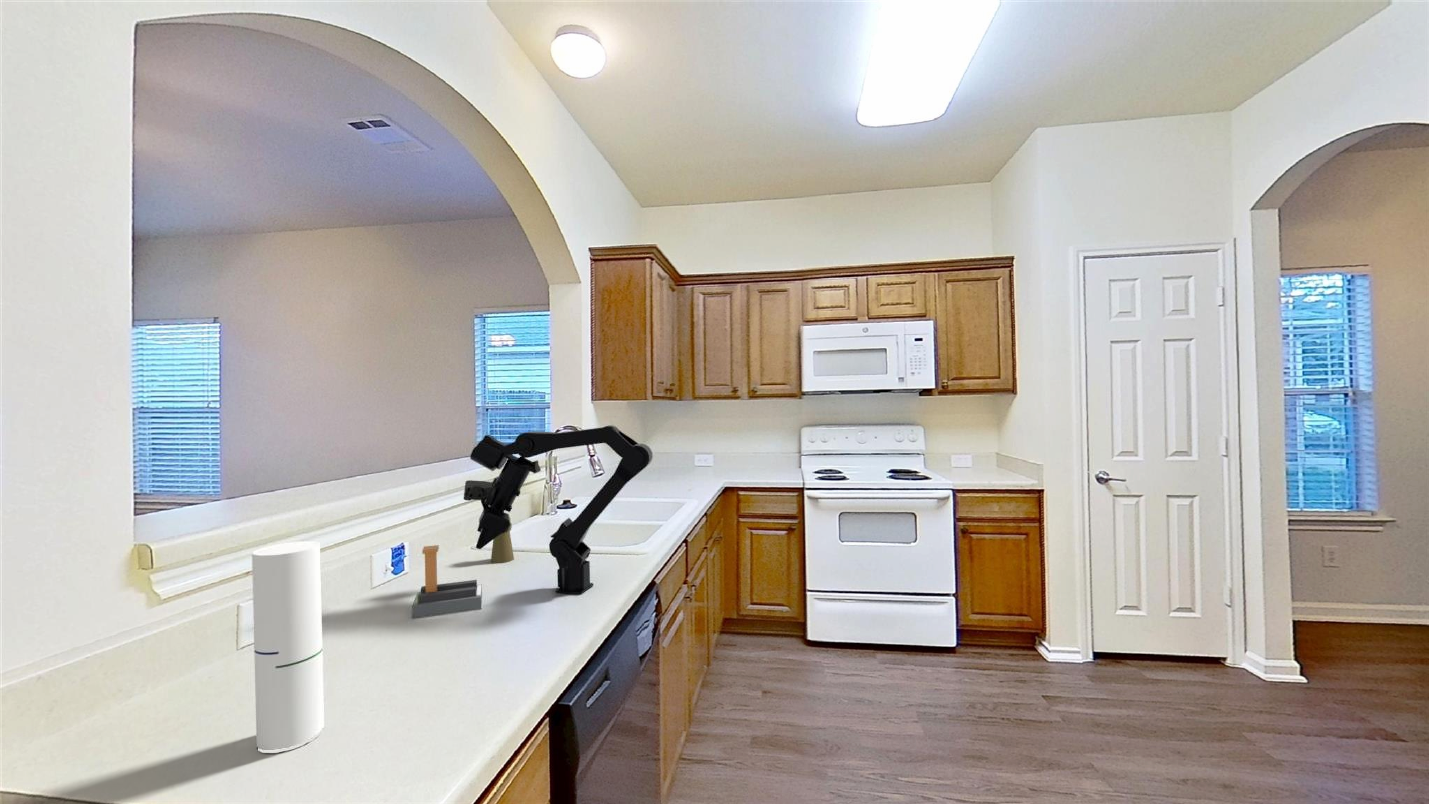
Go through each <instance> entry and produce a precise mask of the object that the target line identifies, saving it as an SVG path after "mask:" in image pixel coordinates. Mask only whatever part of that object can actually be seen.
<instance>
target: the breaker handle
mask: <svg viewBox="0 0 1429 804" xmlns="http://www.w3.org/2000/svg"><path fill="white" fill-rule="evenodd" d="M439 549H440V545H438V544H437V545H435V544H434V545H427V546H425V545H424V546H423V548H422V550H421V551H422V555H424V567H425V568H424V576H425V578H424V579H425V580H424V583H425V585H424V586H425V587H426V593H429V592H437V584H438V563H437V562H438V561H437V560H438V558H437V556H438V555H437V553H438V552H439Z"/></svg>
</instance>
